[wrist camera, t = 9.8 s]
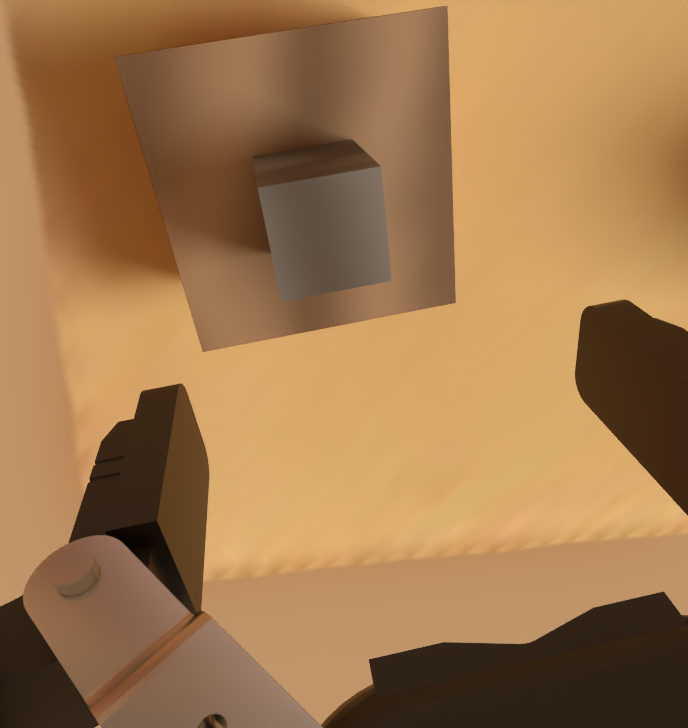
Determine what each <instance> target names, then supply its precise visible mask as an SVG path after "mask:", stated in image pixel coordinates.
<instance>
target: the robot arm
mask: <svg viewBox="0 0 688 728" xmlns="http://www.w3.org/2000/svg"><path fill="white" fill-rule="evenodd" d="M575 379H576V385H577V389H578V391H579V394H580V396H581V398H582V399H583V401H584V402H585V403H586V404H587V406H588V407H589V408H590V409H591V410H592V411H593V412H594V413H595V414H596V415H597V416H598V418H599V419H600V420H601V421H602V422H603V423H604V424H605V425H606V426H607V427H608V429H609V430H610V431H611V432H612V433H613V434H614V435H615V436H616V437H617V438H618V440H619V441H620V442H621V443H622V444H623V445H624V446H625V447H626V448H627V449H628V450H629V452H630V453H631V454H632V455H633V456H634V457H635V458H636V459H637V460H638V461H639V463H640V464H641V465H642V466H643V467H644V468H645V469H646V470H647V471H648V472H649V474H650V475H651V476H652V477H653V478H654V479H655V480H656V481H657V482H658V483H659V484H660V486H661V487H662V488H663V489H664V490H665V491H666V492H667V493H668V494H669V495H670V497H671V498H672V499H673V500H674V501H675V502H676V503H677V504H678V505H679V506H680V508H681V509H682V510H683V511H684V512H685V513H686V514H687V515H688V331H686V330H685V329H683V328H681V327H678V326H676V325H673V324H670V323H667V322H665V321H662V320H659V319H656V318H653V317H651V316H650V315H648V314H647V313H646V312H644V311H643V310H641V309H640V308H639V307H637V306H636V305H634V304H633V303H632V302H630V301H628V300H619V301H614V302H609V303H603V304H598V305H593V306H588V307H586V308H585V309H584V311H583V313H582V316H581V321H580V331H579V340H578V350H577V359H576V369H575ZM95 464H96V465H95V466H93V469H92V472H91V475H90V478H89V479H90V483H88V485H87V488H86V491H85V494H84V497H83V500H82V503H81V506H80V509H79V512H78V516H77V519H76V522H75V525H74V528H73V531H72V534H71V537H70V540H69V543H68V544H66V545H64V546H63V547H61V548H59V549H58V550H56V551H55V552H53V553H52V554H51V555H49V556H48V557H47V558H46V559H45V560H44V561H43V562H41V564H40V565H39V566H38V567H37V568H36V569H35V571H34V572H33V573H32V575H31V576H30V578H29V580H28V582H27V584H26V586H25V589H24V594H23V595H22V596H21V597H19V598H17V599H15V600H13V601H11V602H9V603H7V604H5V605H3V606H0V728H94V727H96V726H98V725H100V726H101V728H688V615H681V614H680V613H679V611H678V610H677V609H676V607H675V606H674V605H673V604H672V602H671V601H670V599H669V598H668V597H667V596H666V594H665V593H664V592H660V593H656V594H651V595H647V596H643V597H639V598H634V599H630V600H626V601H621V602H617V603H613V604H608V605H604V606H599V607H595V608H593V609H591V610H589V611H587V612H585V613H583V614H582V615H580V616H578V617H576V618H574V619H573V620H571V621H569V622H567V623H565V624H564V625H562V626H560V627H558V628H556V629H555V630H553V631H551V632H549V633H548V634H546V635H544V636H542V637H540V638H539V639H537V640H535V641H533V642H531V643H526V644H491V643H490V644H489V643H446V642H443V643H439V644H435V645H430V646H426V647H422V648H417V649H413V650H408V651H404V652H400V653H396V654H391V655H387V656H382V657H378V658H374V659H369V663H370V668H371V674H372V679H373V684H372V685H370V686H368V687H367V688H365V689H363V690H362V691H360V692H358V693H356V694H355V695H354V696H352V697H351V698H350V699H348V700H347V701H345V702H344V703H343V704H342V705H341V706H339V707H338V708H337V709H336V710H335V711H334V712H333V713H332V714H331V715H330V716H329V717H328V718H327V719H326V720H325V721H324V723H323V724H322V725H320V724H319V723H318V722H317V721H316V720H315V719H314V718H313V717H312V716H311V715H310V714H309V713H308V712H307V711H306V710H305V709H304V708H303V707H302V706H301V705H300V704H299V703H298V702H297V701H296V700H295V699H294V698H293V697H292V696H291V695H290V694H289V693H288V692H287V691H286V690H285V689H284V688H283V687H282V686H281V685H279V684H278V682H277V681H276V680H274V678H273V677H272V676H271V675H270V674H269V673H268V672H267V671H266V670H264V668H263V667H261V665H259V663H258V662H256V661H255V659H253V658H252V656H251V655H250V654H249V653H248V652H246V651H245V650H244V649H243V648H242V647H241V646H240V645H239V644H238V643H237V642H236V641H235V640H234V639H233V638H232V637H231V636H230V635H229V634H228V633H227V632H226V631H225V630H224V629H223V628H222V627H221V626H220V625H219V624H218V623H217V622H216V621H215V620H214V619H213V618H212V617H211V616H210V615H208V614H207V613H205V612H203V611H201V602H202V585H203V570H204V553H205V537H206V521H207V505H208V489H209V465H208V458H207V453H206V449H205V445H204V442H203V439H202V436H201V433H200V430H199V427H198V424H197V421H196V418H195V415H194V412H193V409H192V406H191V403H190V400H189V397H188V394H187V391H186V389H185V387H184V386H183V384H176V385H171V386H165V387H160V388H155V389H150V390H145V391H142V392H141V394H140V398H139V402H138V405H137V409H136V413H135V417H134V419H131V420H126V421H121V422H118V423H117V424H116V425H115V426H114V428H113V429H112V430H111V431H110V432H109V433H108V435H107V436H106V437H105V438H104V439H103V440H102V441H101V444H100V448H99V451H98V454H97V457H96V460H95Z"/></svg>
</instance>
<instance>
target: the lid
mask: <svg viewBox="0 0 688 728" xmlns="http://www.w3.org/2000/svg"><path fill="white" fill-rule="evenodd" d="M114 58H115V62H116V65H117V68H118V72H119V75H120V78H121V82H122V85H123V88H124V92H125V95H126V98H127V102H128V105H129V108H130V112H131V115H132V118H133V122H134V125H135V128H136V131H137V135H138V138H139V141H140V145H141V148H142V151H143V155H144V158H145V161H146V165H147V168H148V171H149V175H150V178H151V181H152V185H153V188H154V191H155V195H156V198H157V201H158V205H159V208H160V211H161V215H162V218H163V221H164V224H165V228H166V231H167V234H168V238H169V241H170V244H171V248H172V251H173V254H174V258H175V261H176V264H177V268H178V271H179V274H180V278H181V281H182V284H183V288H184V291H185V294H186V298H187V301H188V304H189V308H190V311H191V314H192V317H193V321H194V324H195V327H196V331H197V334H198V337H199V341H200V344H201V347H202V351H203V352H206V351H211V350H216V349H221V348H226V347H231V346H236V345H241V344H247V343H252V342H257V341H262V340H267V339H272V338H277V337H282V336H288V335H293V334H298V333H303V332H308V331H313V330H318V329H324V328H329V327H334V326H339V325H344V324H349V323H354V322H359V321H365V320H370V319H375V318H380V317H385V316H390V315H395V314H400V313H406V312H411V311H416V310H421V309H426V308H431V307H436V306H442V305H447V304H452V303H456V300H455V264H454V228H453V192H452V156H451V120H450V84H449V48H448V12H447V6H442V7H435V8H429V9H422V10H415V11H409V12H402V13H396V14H389V15H383V16H376V17H370V18H363V19H357V20H350V21H344V22H337V23H331V24H324V25H318V26H311V27H305V28H298V29H291V30H285V31H278V32H272V33H265V34H259V35H252V36H246V37H239V38H233V39H226V40H220V41H213V42H207V43H200V44H194V45H187V46H180V47H174V48H167V49H161V50H154V51H148V52H141V53H135V54H128V55H122V56H116V57H114Z"/></svg>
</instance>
